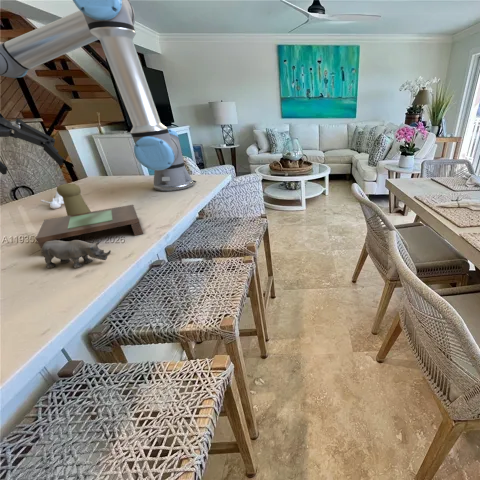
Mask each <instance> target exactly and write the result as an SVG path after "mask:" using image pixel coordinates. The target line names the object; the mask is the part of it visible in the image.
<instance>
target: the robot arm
mask: <svg viewBox="0 0 480 480" xmlns="http://www.w3.org/2000/svg"><path fill="white" fill-rule="evenodd" d="M72 2H73V4H74V5H75V7H76V8H77V9H78V10H77V11H75V12H73V13H70V14H68V15H66V16H63V17H61V18H57V19H56V20H54V21H52V22H49V23H46V24H45V25H42V26H40V27H38V28H35V29H33V30H30V31H28V32H26V33H23V34H20V35H18V36H16V37H14V38H11V39H9V40H7V41H4V42H3V43H0V77H6V78H11V79H16V78H17V79H18V78H24V77H25V76H27V74H28V71H29V70H31V69H33V68H34V69H35V68H36V67H39V66H40V65H42V64H45V63H47V62H50V61H52V60H54V59H57V58H59V57H61V56H64V55H66V54H69V53H71V52H73V51H76V50H78V49H80V48H82V47H84V46H85V47H86V46H87V45H90V44H91V43H94V42H96V41H98V40H99V41H100V44H101V48H102V50H103V53H104V54H105V57H106V60H107V63H108V66H109V68H110V71H111V74H112V76H113V78H114V80H115V83H116V86H117V89H118V91H119V93H120V96H121V98H122V101H123V105H124V106H125V110H126V112H127V114H128V116H129V120H130V122H131V125H132V128H131V130H130V136H131V139H132V141H133V143H134V145H133V153H134V154H133V155H134V157H135V158H136V160H137V162H139V164H141V165H142V166H143V167H144V168H147V169H148V170H152V171H154V173H153V188H154V190H155V191H158V192H174V191H182V190H187V189H189V188H191V187H193V186H194V183H197V181H196V180H194V179H193V178H192V176H191V175H190V173H189V171H188V170H187V168H186V165H185V160H184V156H183V151H182V147H181V143H180V137H179V134H178V132H177V131H176V130H175V129H168V127H167V126H165V124H163V123H162V122H161V119H160V116H159V113H158V111H157V108H156V104H155V101H154V99H153V95H152V92H151V90H150V87H149V84H148V82H147V78H146V75H145V73H144V69H143V67H142V63H141V61H140V57H139V55H138V52H137V49H136V46H135V44H134V38H135V36H136V34H137V33H136V29H135V27H134V25H135V22H136V14H135V9H134V6H133V5H132V2H131V0H72ZM12 131H13V132H12ZM9 137H11V138H13V139H19V140H23V141H25V142H28V143H30V144H33V145H35V146H39V147H42V148H43V149H42V150H43V151H44V152H45V153H46V154H47V155H48V156H49V157H50V158H51V159H52V160H53V161H55V163H57V165H59V166H63V165H64V164H63V163H64V158H63V157H62V155H60V154H59V150H58V149H57V148H56V147H55V143H56V139H55V138H54V137H52V136H50V135H48V134H47V133H44V132H42V131H41V130H38V129H37V128H34V127H33V126H31V125H29V124H27V123H26V122H25V121H23V120H22V119H21V118H15V120H14V121H10V120H8V119H7V118H5V117H4V115H3V114H2V113H1V112H0V138H9ZM0 174H2V176H4V175H7V174H8V167H7V166H6V165H5V164H4V163H3V162H2V161H1V160H0Z"/></svg>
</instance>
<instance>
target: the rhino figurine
mask: <svg viewBox="0 0 480 480" xmlns="http://www.w3.org/2000/svg"><path fill="white" fill-rule="evenodd" d="M100 242H101V240H100V239H98V241H96V242H95V243H90V242H88V241H84V240H79V239H73V240H69V241H65V240H61V239H60V240H54V241H46V242H45V243H44V245H43V247H42V249H41V248H40V249H41V255H42V257H43V258H44V263H45V264H46V268H47V269H50V268H51V269H53V268H54V267H55V266H56V263H54V262H52V260H53V259H54V258H56V259H59V260H60V263H69V262H71V261H72V262H73V264H72V266H73V268H74V269H78V268H81V267H82V266H83V265H82V263H80V258H82V259H83V262H84V263H86V264H87V263H91V262H93V259H96V260H100V261H106V260H107V259H108V256H109V255H110V254H111V252H112V251H111V249H110V250H108V251H107V252H105V249H101V248H99V247H98V245H100Z"/></svg>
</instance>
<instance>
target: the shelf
mask: <svg viewBox="0 0 480 480" xmlns="http://www.w3.org/2000/svg"><path fill="white" fill-rule="evenodd" d="M128 225H131V229H132V232H133V235H134V236H140V235H144V231H143V228H142V225H141V223H140V219H139V217H138V214H137V211H136V208H135V207H134V204H128V205H122V206H115V207H111V208H104V209H100V210H94V211H91V212H87V213H81V214H75V215H69V216H67V215H65V216H59V217H53V218H46V219H44V220H43V222H42V224H41V226H40V228H39V230H38V233H37V234H36V236H35V240H36V242H37V244H38V246H39V248H40V249H42V247H43V245H44V243H45V242H46V241H54V240H60V241H61V239H66V238H71V237H75V236H80V235H85V234H90V233H95V232H100V231H105V230H110V229H114V228H119V227H124V226H128Z"/></svg>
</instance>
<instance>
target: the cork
mask: <svg viewBox="0 0 480 480" xmlns="http://www.w3.org/2000/svg"><path fill="white" fill-rule="evenodd" d="M56 190H57V192H58V194H59V195H60V196H62V197H63V201H64V204H63V205H64V208H65V212H66V216H69V215H75V214H81V213H87V212H92V211H91V210H90V208H89V206H88V204H87V203H86V201H85V200H84V198H83V196H82V195H81V192H82V190H81V187H80V186H79V185H78V184H77V183H74V182H73V183H72V182H71V183H63V184H60V185H57V187H56Z"/></svg>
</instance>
